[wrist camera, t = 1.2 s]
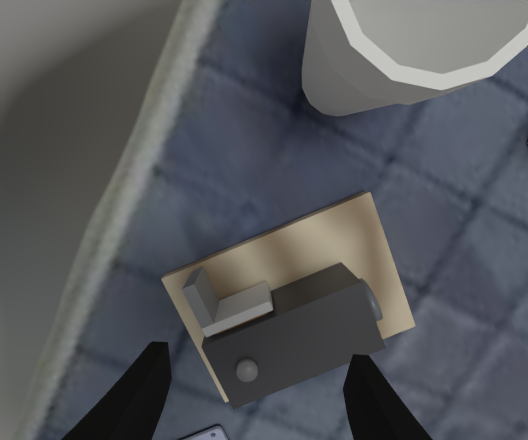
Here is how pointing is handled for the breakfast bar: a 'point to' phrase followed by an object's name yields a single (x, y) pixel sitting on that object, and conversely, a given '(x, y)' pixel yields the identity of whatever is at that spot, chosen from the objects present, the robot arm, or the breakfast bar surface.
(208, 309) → the door
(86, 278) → the breakfast bar surface
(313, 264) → the board
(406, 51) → the foam cup
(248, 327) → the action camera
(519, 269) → the breakfast bar surface
